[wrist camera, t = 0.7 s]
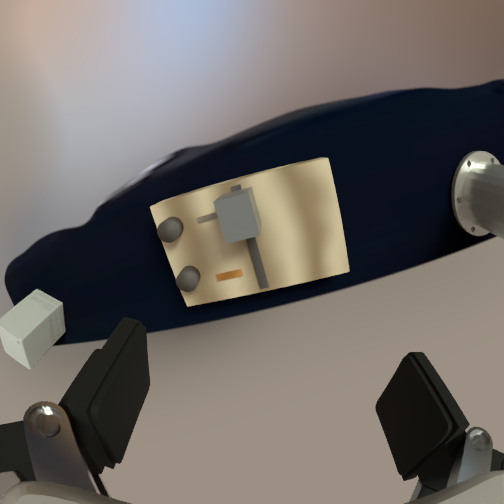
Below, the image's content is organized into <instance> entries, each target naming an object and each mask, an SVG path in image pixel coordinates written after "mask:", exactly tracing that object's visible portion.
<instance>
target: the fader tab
mask: <svg viewBox="0 0 504 504" xmlns="http://www.w3.org/2000/svg"><path fill="white" fill-rule="evenodd" d="M213 203H214V206H215V210H216V213H217V216H218V220H219V223H220V226H221V229H222V232H223V236H224V239H225V242H226V244H228V243H232V242H236V241H240V240H244V239H248V238H252V237H256V236H260V233H261V224H262V223H261V219H260V216H259V212H258V208H257V205H256V201H255V197H254V194H253V190H252V187H248V188H244V189H240V190H237V191H233V192H229V193H226V194H222V195H221V196H219V197H218V198H217V199H216V200H215V201H214V202H213Z"/></svg>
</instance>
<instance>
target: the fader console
mask: <svg viewBox="0 0 504 504" xmlns="http://www.w3.org/2000/svg"><path fill="white" fill-rule="evenodd" d="M248 187H252V190H253V194H254V197H255V201H256V205H257V208H258V212H259V216H260V219H261V223H262V224H261V233H260V236H256V237H252V238H248V239H244V240H240V241H236V242H232V243H228V244H226V242H225V239H224V236H223V232H222V229H221V226H220V223H219V220H218V216H217V213H216V210H215V206H214V203H213V202H214V201H215V200H216V199H217V198H218V197H219V196H221V195H222V194H226V193H229V192H233V191H237V190H240V189H244V188H248ZM150 209H151V212H152V215H153V218H154V221H155V224H156V226H157V234H158V236H159V238H160V239H161V241H162V243H163V246H164V249H165V252H166V254H167V257H168V260H169V262H170V265H171V267H172V270H173V273H174V275H175V278H176V284H177V286H178V288H179V289H180V290H181V293H182V295H183V298H184V300H185V302H186V305H187V307H188V306H194V305H199V304H204V303H210V302H215V301H220V300H225V299H230V298H235V297H240V296H245V295H250V294H254V293H259V292H264V291H268V290H273V289H278V288H282V287H287V286H291V285H296V284H300V283H304V282H309V281H313V280H317V279H321V278H325V277H330V276H334V275H338V274H342V273H346V272H349V265H348V258H347V251H346V245H345V239H344V233H343V227H342V221H341V216H340V210H339V205H338V200H337V195H336V190H335V186H334V181H333V177H332V172H331V168H330V163H329V159H328V158H317V159H312V160H308V161H303V162H299V163H294V164H290V165H286V166H281V167H277V168H273V169H269V170H265V171H261V172H257V173H254V174H250V175H246V176H242V177H239V178H235V179H231V180H228V181H224V182H221V183H217V184H214V185H210V186H207V187H204V188H200V189H197V190H194V191H191V192H188V193H184V194H181V195H178V196H175V197H172V198H169V199H166V200H163V201H161V202H159V203H157V204H155V205H153V206H151V207H150Z"/></svg>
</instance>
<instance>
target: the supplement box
mask: <svg viewBox="0 0 504 504" xmlns="http://www.w3.org/2000/svg"><path fill="white" fill-rule="evenodd" d="M65 331H66V330H65V322H64V313H63V303H62V302H60V301H58V300H56V299H55V298H53V297H51V296H49V295H47V294H46V293H44V292H42V291H40V290H38V289H36V290H35V291H34V292H32V293H31V294H30V295H28V296H27V297H26V298H25V299H23V300H22V301H21V302H20V303H18V304H17V305H16V306H15V307H13V308H12V309H11V310H10V311H9V312H8V313H6V314H5V315H4V316H3V317H2V318H0V337H1V341H2V344H3V347H4V350H5V352H6V353H7V354H9V355H10V356H11V357H13V358H14V359H15V360H17V361H18V362H19V363H21V364H22V365H24V366H25V367H26V368H28V369H29V370H31V369H32V368H33V367H34V366H35V365H36V364H37V363H38V361H39V360H40V359H41V358H42V357H43V356H44V355H45V353H46V352H47V351H48V350H49V349H50V348H51V347H52V346H53V345H54V343H55V342H56V341H57V340H58V339H59V338H60V337H61V336H62V335H63V334H64V333H65Z"/></svg>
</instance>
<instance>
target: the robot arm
mask: <svg viewBox="0 0 504 504" xmlns="http://www.w3.org/2000/svg"><path fill="white" fill-rule="evenodd" d="M451 197H452V206H453V211H454V214H455V217H456V219H457V221H458V223H459V225H460V226H461V227H462V228H463V229H464V230H465V231H466V232H468V233H470V234H472V235H475V236H483V235H486V234H488V233H489V232H491V233H493V234H495V235H497V236H499V237H501V238H503V239H504V165H500V163H499V161H498V160H497V159H496V158H495V157H494V156H493V155H491V154H490V153H487V152H485V151H473V152H471V153H469V154H467V155H466V156H465V157H464V158H463V159H462V160H461V162H460V163H459V165H458V167H457V169H456V171H455V174H454V177H453V182H452V191H451ZM149 386H150V376H149V366H148V353H147V336H146V327H145V326H142V325H141V322H140V321H138V320H134V319H129V318H123V319H122V320H121V322H120V323H119V325H118V326H117V327H116V329H115V330H114V332H113V333H112V334H111V336H110V337H109V339H108V340H107V342H106V343H105V345H104V346H103V348H102V349H96V350H95V351H94V352H93V353H92V354H91V356H90V357H89V359H88V360H87V361H86V363H85V364H84V366H83V368H82V369H81V370H80V372H79V373H78V375H77V376H76V378H75V379H74V381H73V382H72V384H71V385H70V387H69V388H68V390H67V392H66V393H65V395H64V396H63V398H62V399H61V401H60V403H59V404H58V405H57V404H55V403H52V402H48V401H45V402H44V401H41V402H38V403H35V404H33V405H32V406H30V407H29V408H28V409H27V411H26V412H25V415H24V417H23V421H18V422H13V423H8V424H2V425H0V500H1V501H0V504H131V503H127V502H123V501H120V500H116V499H113V498H112V497H111V496H110V494H109V492H108V490H107V488H106V486H105V484H104V482H103V480H102V478H101V476H100V474H101V473H102V472H103V469H104V467H105V466H106V467H109V468H112V469H114V467H115V464H116V463H119V464H120V463H121V462H122V459H123V457H124V454H125V451H126V448H127V445H128V442H129V440H130V437H131V435H132V432H133V429H134V426H135V424H136V421H137V418H138V416H139V413H140V410H141V408H142V405H143V403H144V400H145V398H146V395H147V393H148V390H149ZM376 412H377V415H378V417H379V420H380V423H381V425H382V428H383V431H384V433H385V436H386V438H387V441H388V444H389V447H390V450H391V453H392V455H393V458H394V461H395V464H396V467H397V470H398V472H399V474H400V475H402V478H403V481H406V480H409V479H413V478H415V477H416V476H417V475H418V477H419V480H418V482H417V485H416V487H415V490H414V492H413V494H412V497H411V499H410V501H409V502H408V503H405V504H504V453H501V452H499V451H497V450H495V449H492V448H493V443H492V439H491V436H490V435H489V433H488V432H487V431H486V430H484V429H482V428H480V427H473V428H470V429H469V430H468V432H467V433H466V432H465V429H466V428H467V427H468V426H469V422H468V421H467V419H466V417H465V416H464V414H463V412H462V411H461V409H460V407H459V406H458V404H457V402H456V401H455V399H454V398H453V396H452V394H451V393H450V391H449V390H448V388H447V387H446V385H445V384H444V382H443V381H442V379H441V378H440V376H439V375H438V373H437V372H436V370H435V369H434V367H433V366H432V364H431V363H430V361H429V360H428V359H427V357H426V356H425V354H424V353H422V352H410V353H408V354H407V355H406V356H405V357H404V358H403V359H402V361H401V363H400V365H399V367H398V368H397V370H396V372H395V374H394V375H393V377H392V379H391V380H390V382H389V384H388V385H387V387H386V388H385V390H384V392H383V393H382V395H381V397H380V398H379V399H378V401H377V404H376ZM3 495H4V496H3Z"/></svg>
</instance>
